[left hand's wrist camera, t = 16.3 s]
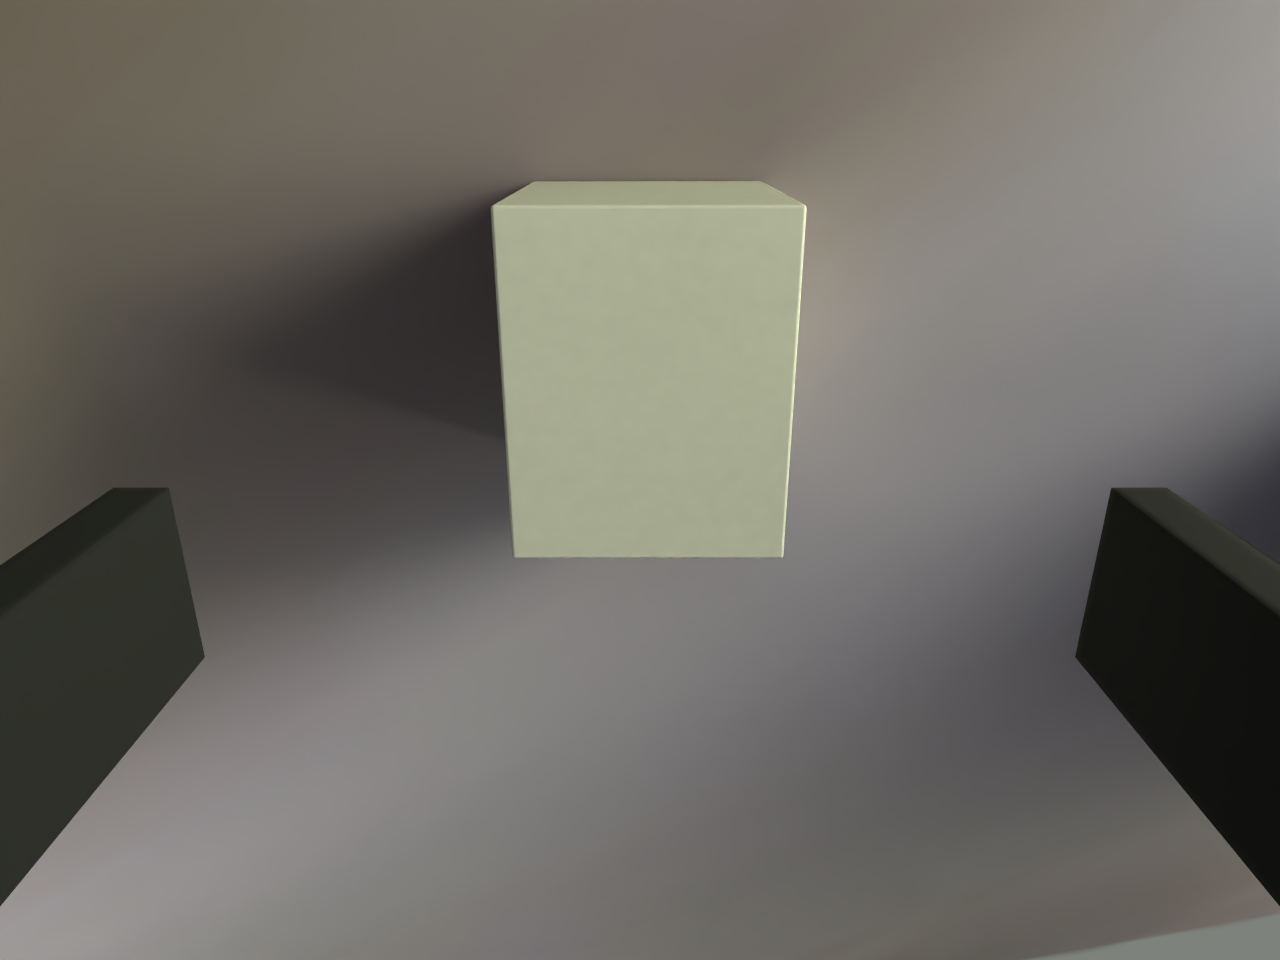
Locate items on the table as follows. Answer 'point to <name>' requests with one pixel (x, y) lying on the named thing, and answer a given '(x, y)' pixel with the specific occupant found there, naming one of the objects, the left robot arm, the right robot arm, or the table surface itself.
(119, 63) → the table surface
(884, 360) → the table surface
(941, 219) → the table surface
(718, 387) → the block
